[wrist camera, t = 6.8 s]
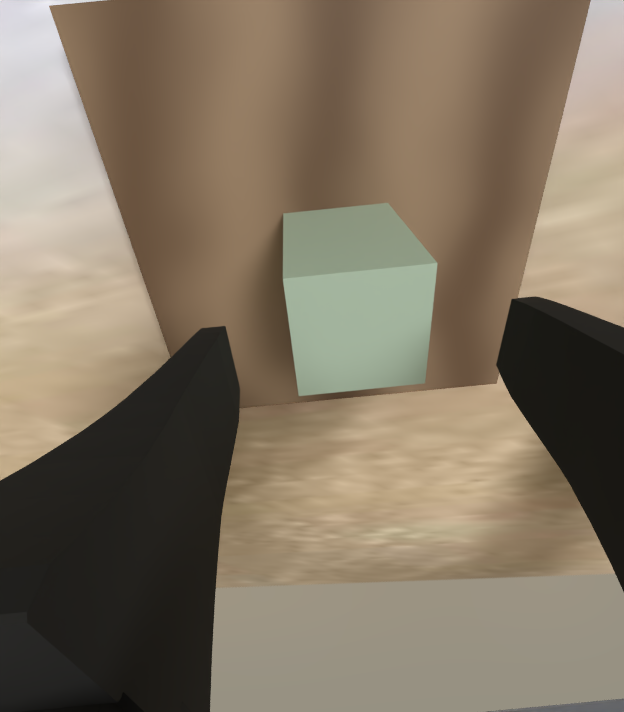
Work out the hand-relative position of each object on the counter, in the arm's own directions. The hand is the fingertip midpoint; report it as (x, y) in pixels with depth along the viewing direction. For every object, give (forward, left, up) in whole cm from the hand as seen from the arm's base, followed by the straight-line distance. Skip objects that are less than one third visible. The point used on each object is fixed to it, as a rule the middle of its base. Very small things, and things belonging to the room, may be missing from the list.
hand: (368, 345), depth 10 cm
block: (0, 0, -7) cm, 7 cm away
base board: (0, 0, -9) cm, 9 cm away
